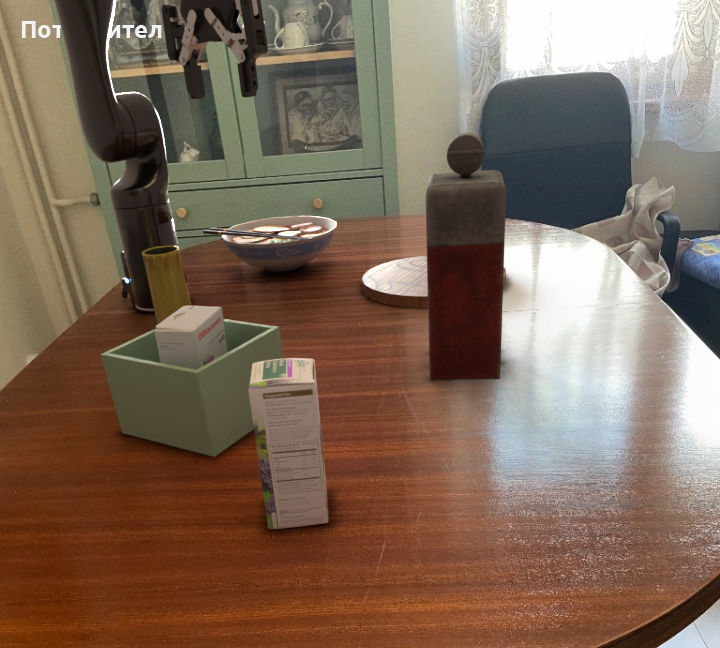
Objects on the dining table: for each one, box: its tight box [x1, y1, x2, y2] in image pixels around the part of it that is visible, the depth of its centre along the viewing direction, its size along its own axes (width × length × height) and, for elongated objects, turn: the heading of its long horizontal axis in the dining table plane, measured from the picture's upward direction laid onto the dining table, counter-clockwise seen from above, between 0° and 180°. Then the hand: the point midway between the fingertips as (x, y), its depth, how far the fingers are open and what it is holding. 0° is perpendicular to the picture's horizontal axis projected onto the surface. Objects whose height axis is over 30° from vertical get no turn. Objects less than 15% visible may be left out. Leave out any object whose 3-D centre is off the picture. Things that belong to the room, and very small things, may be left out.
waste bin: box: [100, 318, 284, 458], centre depth 86 cm, size 14×14×10 cm
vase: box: [142, 245, 193, 326], centre depth 107 cm, size 6×6×14 cm
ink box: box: [154, 305, 228, 370], centre depth 85 cm, size 9×5×12 cm, turn 168°
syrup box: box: [248, 357, 330, 530], centre depth 66 cm, size 6×6×14 cm
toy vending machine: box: [425, 132, 507, 381], centre depth 90 cm, size 9×11×28 cm
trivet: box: [361, 254, 507, 309], centre depth 127 cm, size 25×25×2 cm
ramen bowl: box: [202, 215, 338, 273], centre depth 143 cm, size 25×23×8 cm
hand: (223, 97), depth 93 cm, fingers open, 8 cm apart
